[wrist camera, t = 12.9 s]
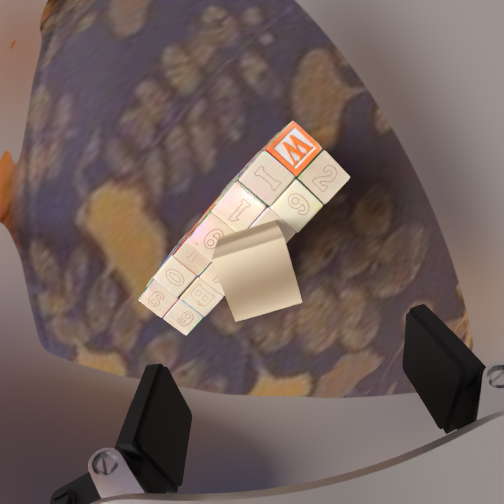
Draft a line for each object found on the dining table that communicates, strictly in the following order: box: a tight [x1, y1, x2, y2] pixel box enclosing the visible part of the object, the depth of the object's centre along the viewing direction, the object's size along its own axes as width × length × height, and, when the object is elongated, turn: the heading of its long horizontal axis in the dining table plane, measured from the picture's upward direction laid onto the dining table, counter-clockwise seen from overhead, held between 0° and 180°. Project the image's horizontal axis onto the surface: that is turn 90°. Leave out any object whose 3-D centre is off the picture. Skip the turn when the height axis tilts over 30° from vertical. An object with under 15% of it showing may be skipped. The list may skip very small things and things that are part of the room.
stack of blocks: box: [138, 121, 350, 335], centre depth 29 cm, size 21×6×12 cm, turn 138°
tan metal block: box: [212, 220, 302, 322], centre depth 21 cm, size 4×4×5 cm
